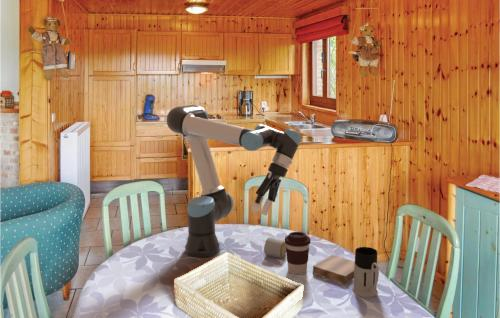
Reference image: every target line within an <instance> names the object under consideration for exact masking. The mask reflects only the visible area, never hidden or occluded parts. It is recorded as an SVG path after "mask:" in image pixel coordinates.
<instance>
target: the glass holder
mask: <svg viewBox="0 0 500 318" xmlns="http://www.w3.org/2000/svg"><path fill="white" fill-rule="evenodd" d="M354 261H355V262H354V278H353V287H352V289H351V290H352V292H353V293H354V294H355V295H357V296H360V297H363V298H371V297H375V296H377V295H378V293H379V291H378V289H377V284H378V282H379V276H380V275H379V274H380V271H379V270H380V269H379V266H378V250H377V249H375V248H374V247H367V246H360V247H357V248H355V251H354Z"/></svg>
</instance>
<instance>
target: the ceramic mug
mask: <svg viewBox="0 0 500 318" xmlns="http://www.w3.org/2000/svg"><path fill="white" fill-rule="evenodd" d="M263 246H264V247H263V253H264V255H265V256H269V257H273V258H282V259H283V258H284V257H286V256H287V254H286V246H287V245H286V243H285V240H282V239H278V238H273V237H271V236H270V237H267V239H266V240H265V243H264V245H263Z"/></svg>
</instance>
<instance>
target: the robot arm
mask: <svg viewBox="0 0 500 318" xmlns="http://www.w3.org/2000/svg"><path fill="white" fill-rule="evenodd" d="M166 124H167V127H168V128H169V130H170V131H172V132H173V133H175V134H179V135H182V137H183V139H185V140H187V142H188V146H189V149H190V154H191V155H192V159H193V162H194V166H195V169H196V172H197V176H198V179H199V182H200V185H201V190H202V191H201V193H200V195H199V196H195V197H193V198H191V199H190V200H189V201H188V202H187V208H186V212H187V228H188V235H187V239H186V244H185V246H184V253H185V252H186V253H185V254H186V255H187V254H188V255H187V256H189V257H194V258H207V257H211V256H214V255H217V254H218V253H219V252H220V243H219V240H218V237H217V235H216V223H217V222H218V221H220V220H222V219H225V218H227V216H228V215H230V214H231V212H232V210H233V209H234V199H233V196H232V195H231V194H230V193H229V192H227V191H226V187H225V186H223V185H221V182H220V179H219V176H218V172H217V168H216V165H215V162H214V159H213V156H212V152H211V148H210V145H209V141H208V139H209V140H210V139H211V140H215V141H218V142H223V143H227V144H231V145H235V146H239V147H242V148H243V149H244V150H246V151H249V152H251V151H253V152H254V151H258V150H259V149H261V148H264V147H270V148H273V149H276V151H275V152H274V155H273V157H272V159H271V163H270V164H269V166H268V169H267V170H268V172H267V174H266V177H265V178H264V179H263V181H262V182H261V184H260V185H259V187H258V188H257V190H256V192H255V194H256V197H255V199H254V201H253V204H252V206H251V208H250V211H252V212H255V213H258V212H259V210H260V207H261V205H262V203H263V201H264V198H265V195H266V193H267V192H268V195H267V198H266V200H265V202H264V203H263V205H262V209H261V211H260V214H261V215H264V216H265V217H266V216H267V215H268V213H269V211H270V208H271V206H272V205H273V202H274V203H275V202H276V198H277V195H278V191H279V188H280V185H281V183H282V179H281V178H285V177H286V176H287V173H288V171H289V170H288V168H290V165H291V164H293V161H292V160H294V156H295V154H296V153H297V150H298V147H299V146H300V143H301V141H302V134H301V133H300V132H298V131H297V130H294V129H291V128H285V130H284V131H281V130H278V129H275V128H273V127H271V126H268V125H264V124H262V123H260V124H257V126H255V128H254V129H250V128H246V127H242V126H238V125H233V124H229V123H224V122H221V121H216V120H211V119H209V114H208V112H207V111H206V109H205V108H204V107H202V106H200V105H195V104H191V105H183V106H175V107H174V108H172V109H170V111H169V112H168V113H167V114H166Z"/></svg>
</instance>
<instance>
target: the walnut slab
mask: <svg viewBox="0 0 500 318" xmlns="http://www.w3.org/2000/svg"><path fill="white" fill-rule="evenodd" d="M354 262H355V260H351V259H347V258H344V257H341V256H337V255H333V254H331V255H329V256H327V257H326V258H325V259H322V260H321V261H318V263H316V264H314V265H313V266H312V274H314V275H316V276H320V277H323V278H326V279H330V280H333V281H335V282H337V283H341V284H345V285H346V284H347V283H349V282H350V281H351V280H354Z"/></svg>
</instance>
